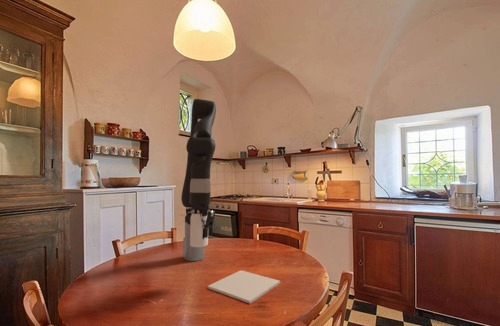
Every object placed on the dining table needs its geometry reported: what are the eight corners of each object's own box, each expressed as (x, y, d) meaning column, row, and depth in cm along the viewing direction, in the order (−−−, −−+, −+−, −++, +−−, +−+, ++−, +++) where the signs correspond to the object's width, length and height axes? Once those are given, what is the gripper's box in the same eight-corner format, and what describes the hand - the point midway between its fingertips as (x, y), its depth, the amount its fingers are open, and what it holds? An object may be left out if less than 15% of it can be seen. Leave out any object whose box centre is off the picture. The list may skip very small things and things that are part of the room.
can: (203, 248, 86) (204, 214, 87) (186, 247, 88) (187, 213, 88) (210, 243, 93) (211, 211, 93) (194, 242, 94) (195, 211, 95)
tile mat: (207, 288, 84) (207, 285, 84) (240, 272, 98) (240, 270, 98) (250, 303, 73) (250, 300, 73) (280, 283, 88) (280, 280, 88)
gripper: (179, 190, 92) (178, 236, 91) (205, 192, 84) (204, 243, 83) (195, 190, 98) (194, 233, 97) (221, 191, 90) (220, 238, 89)
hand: (199, 237), depth 90 cm, fingers closed on can, 5 cm apart
